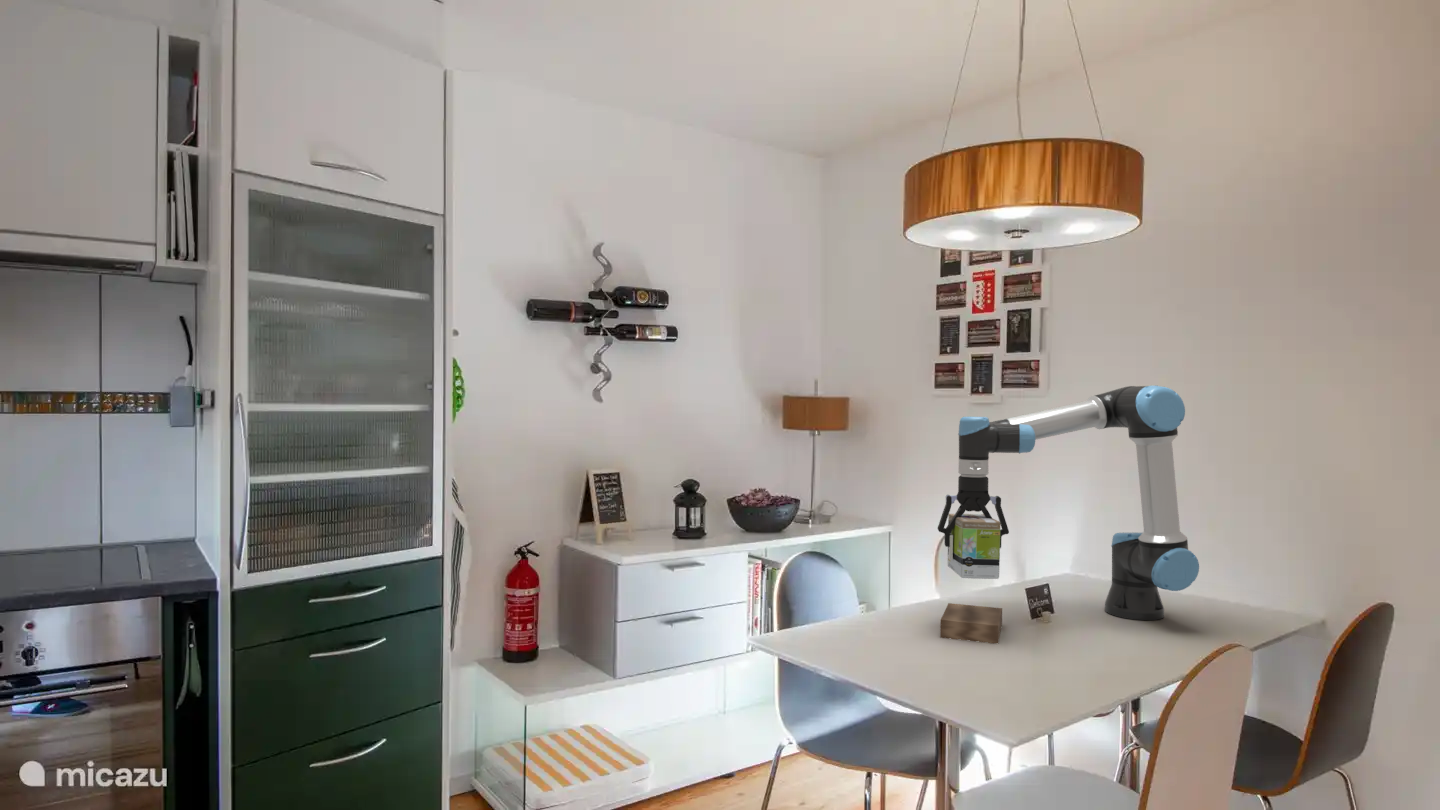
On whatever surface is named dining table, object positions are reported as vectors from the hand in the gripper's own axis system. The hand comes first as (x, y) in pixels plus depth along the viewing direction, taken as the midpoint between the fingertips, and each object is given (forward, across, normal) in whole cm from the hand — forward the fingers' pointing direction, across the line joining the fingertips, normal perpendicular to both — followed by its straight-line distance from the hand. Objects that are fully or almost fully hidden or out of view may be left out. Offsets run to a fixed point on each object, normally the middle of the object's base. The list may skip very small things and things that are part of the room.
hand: (972, 559), depth 218 cm
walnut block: (+19, 0, 0) cm, 19 cm away
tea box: (+4, 0, 0) cm, 4 cm away
